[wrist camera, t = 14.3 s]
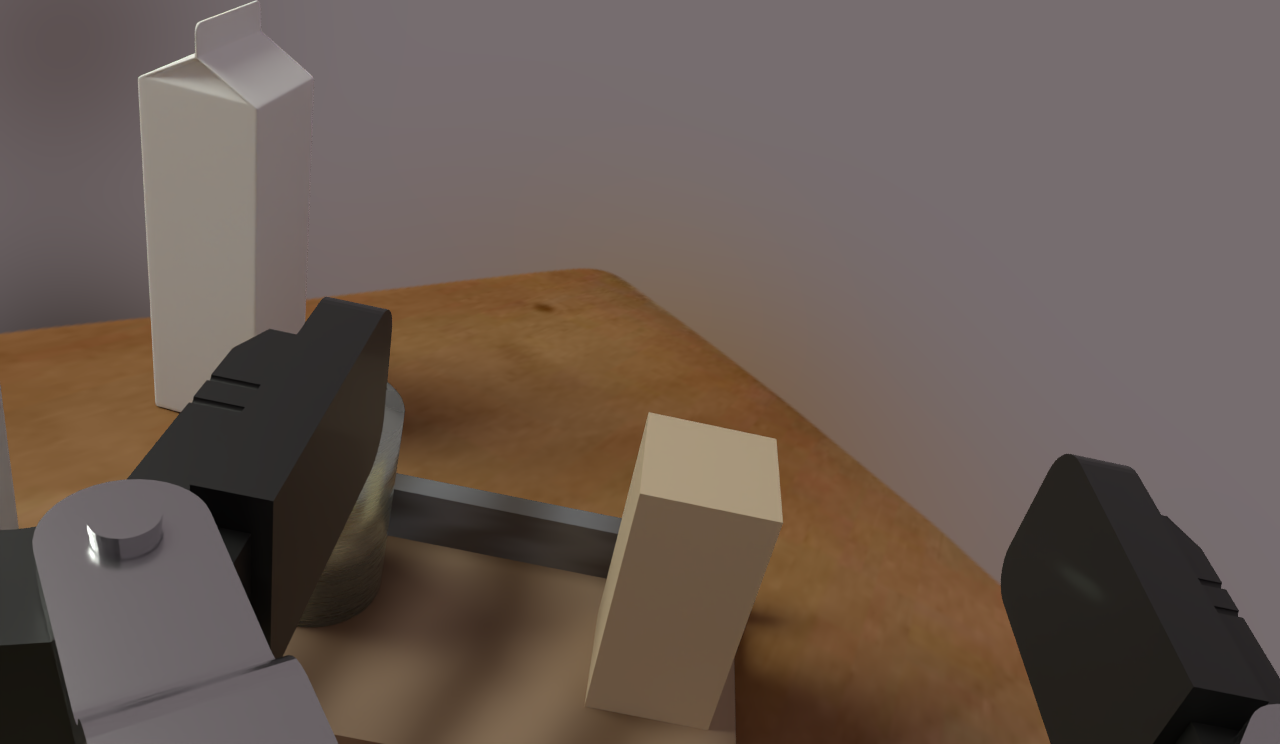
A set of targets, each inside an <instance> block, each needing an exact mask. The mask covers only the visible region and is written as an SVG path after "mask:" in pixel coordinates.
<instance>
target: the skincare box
mask: <svg viewBox="0 0 1280 744" xmlns="http://www.w3.org/2000/svg"><path fill="white" fill-rule="evenodd" d="M11 529H19V528H18V520H17V512H16V504H15V496H14V488H13V481H12V473H11V465H10V458H9V450H8V442H7V434H6V426H5V418H4V411H3V403H2V395H1V387H0V530H11Z"/></svg>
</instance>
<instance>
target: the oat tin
mask: <svg viewBox="0 0 1280 744" xmlns="http://www.w3.org/2000/svg"><path fill="white" fill-rule="evenodd" d="M404 414H405V409H404V404H403V401H402V399H401V397H400V395H399V394H398V392H397V391H396V390H395V389H394V388H393V387H392V386H391V385H390V384H389V383H388V382H387V390H386V401H385V412H384V422H383V429H382V434H381V439H380V444H379V448H378V452H377V455H376V458H375V461H374V464H373V467H372V470H371V472H370V474H369V476H368V478H367V481H366V483H365V485H364V487H363V489H362V491H361V493H360V495H359V497H358V499H357V502H356V504H355V506H354V508H353V510H352V512H351V514H350V516H349V518H348V520H347V522H346V525H345V527H344V529H343V531H342V533H341V535H340V537H339V539H338V541H337V543H336V546H335V548H334V550H333V552H332V554H331V556H330V558H329V560H328V562H327V564H326V567H325V569H324V571H323V573H322V575H321V577H320V579H319V581H318V583H317V585H316V588H315V590H314V592H313V594H312V596H311V598H310V600H309V602H308V604H307V606H306V609H305V611H304V613H303V615H302V617H301V619H300V621H299V623H298V625H297V626H298V627H324V626H330V625H334V624H338V623H341V622H344V621H347V620H349V619H351V618H353V617H355V616H356V615H358V614H360V613H361V612H362V611H363V610H365V609H366V608H367V607H368V606H369V605H370V604H371V603H372V601H373V600H374V599H375V597H376V595H377V593H378V591H379V588H380V583H381V576H382V569H383V562H384V555H385V548H386V541H387V534H388V527H389V520H390V513H391V506H392V499H393V492H394V485H395V478H396V471H397V464H398V456H399V449H400V442H401V435H402V428H403V421H404Z"/></svg>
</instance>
